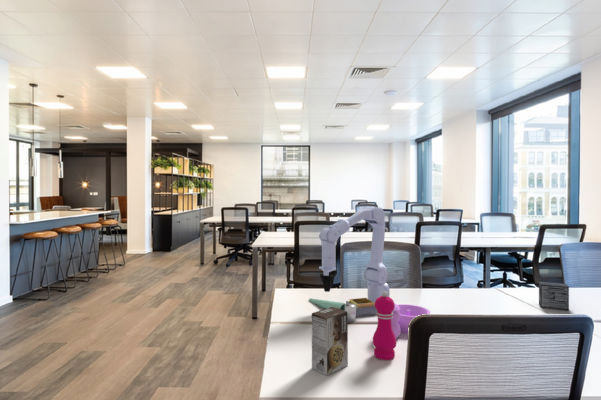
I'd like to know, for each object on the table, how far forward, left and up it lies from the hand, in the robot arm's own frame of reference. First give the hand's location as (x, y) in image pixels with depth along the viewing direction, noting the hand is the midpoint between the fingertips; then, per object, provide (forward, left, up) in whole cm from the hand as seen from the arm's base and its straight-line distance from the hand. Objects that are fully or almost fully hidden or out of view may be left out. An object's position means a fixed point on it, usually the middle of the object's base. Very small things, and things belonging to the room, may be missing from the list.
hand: (328, 289), depth 160 cm
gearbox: (-14, +4, -10) cm, 17 cm away
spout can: (-5, +12, -10) cm, 16 cm away
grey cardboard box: (+18, +47, -10) cm, 51 cm away
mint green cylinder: (-1, -6, -10) cm, 12 cm away
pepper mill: (-1, +45, -10) cm, 46 cm away
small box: (-98, +23, -10) cm, 101 cm away
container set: (-18, +27, -10) cm, 34 cm away
